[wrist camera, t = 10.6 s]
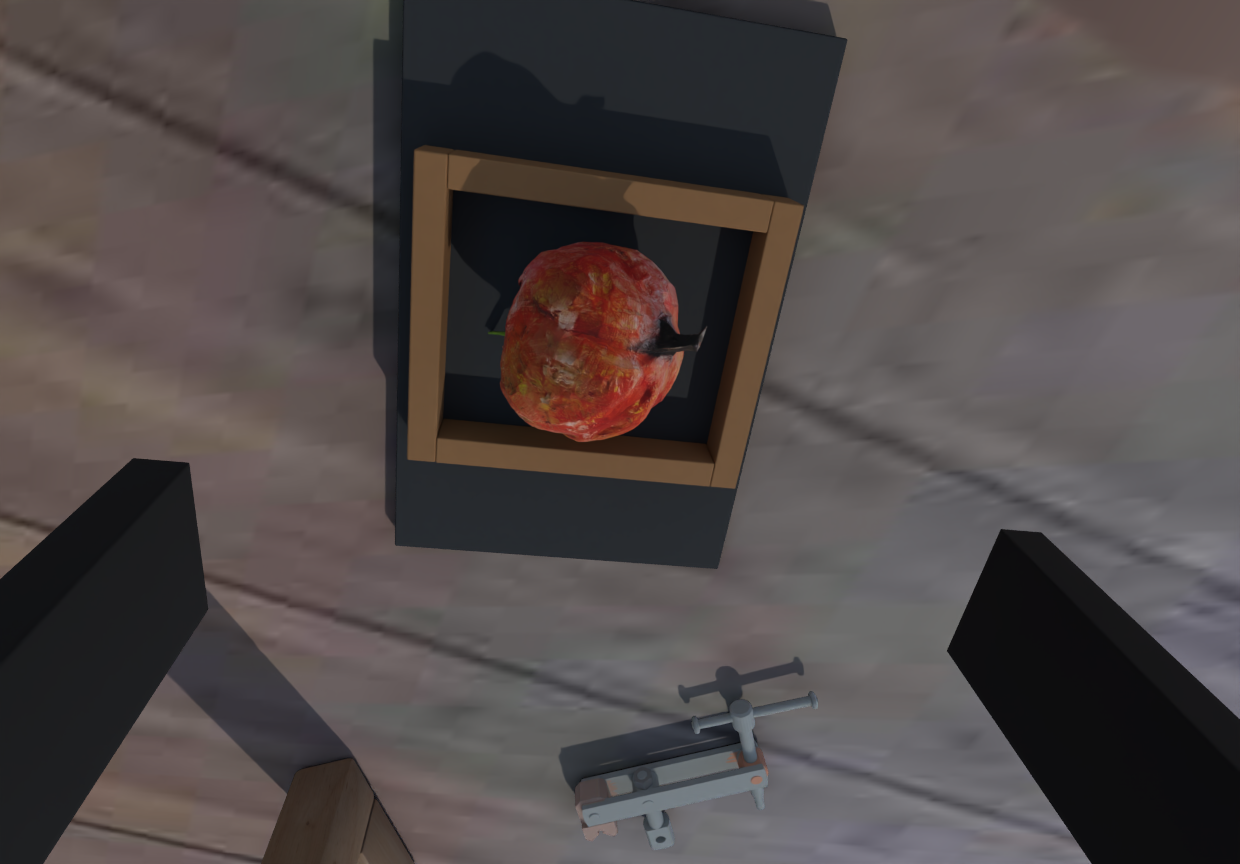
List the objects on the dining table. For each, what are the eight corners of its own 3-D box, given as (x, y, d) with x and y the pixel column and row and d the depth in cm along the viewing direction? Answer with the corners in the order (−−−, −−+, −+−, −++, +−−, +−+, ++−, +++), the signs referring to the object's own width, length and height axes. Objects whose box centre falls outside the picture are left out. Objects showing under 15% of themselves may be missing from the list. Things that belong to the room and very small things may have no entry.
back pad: (409, -37, 25) (391, -51, 23) (838, 40, 27) (869, 35, 25) (398, 534, 35) (386, 571, 33) (714, 557, 38) (726, 594, 35)
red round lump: (543, 393, 34) (737, 435, 29) (425, 435, 28) (643, 496, 23) (540, 231, 32) (752, 245, 27) (411, 240, 26) (651, 261, 21)
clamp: (598, 873, 44) (557, 765, 40) (596, 839, 46) (556, 732, 42) (837, 819, 44) (821, 704, 40) (824, 788, 46) (809, 675, 42)
